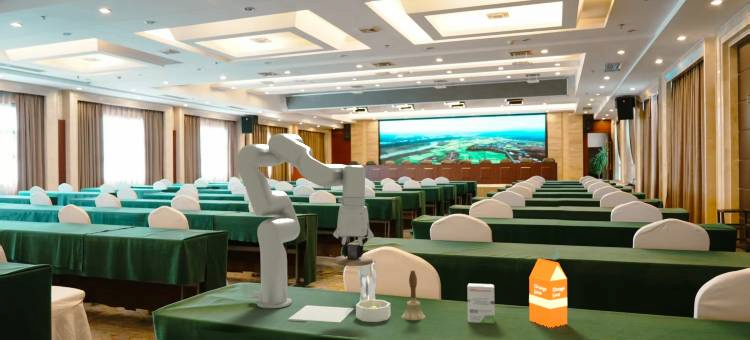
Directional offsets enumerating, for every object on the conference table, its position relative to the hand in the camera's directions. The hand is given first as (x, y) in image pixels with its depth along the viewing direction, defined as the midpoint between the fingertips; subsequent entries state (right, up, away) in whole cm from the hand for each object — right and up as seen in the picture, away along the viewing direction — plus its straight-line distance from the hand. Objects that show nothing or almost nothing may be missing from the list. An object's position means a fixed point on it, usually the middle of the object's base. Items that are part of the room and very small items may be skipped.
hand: (353, 256), depth 173 cm
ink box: (+42, -20, -5) cm, 47 cm away
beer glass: (+5, -20, +19) cm, 28 cm away
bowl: (+7, -21, -1) cm, 22 cm away
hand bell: (+20, -21, -2) cm, 29 cm away
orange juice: (+63, -20, -7) cm, 67 cm away
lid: (0, -2, 0) cm, 2 cm away
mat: (-11, -21, +3) cm, 23 cm away
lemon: (+7, -20, -1) cm, 21 cm away
